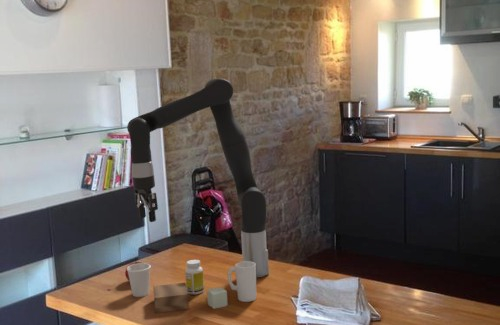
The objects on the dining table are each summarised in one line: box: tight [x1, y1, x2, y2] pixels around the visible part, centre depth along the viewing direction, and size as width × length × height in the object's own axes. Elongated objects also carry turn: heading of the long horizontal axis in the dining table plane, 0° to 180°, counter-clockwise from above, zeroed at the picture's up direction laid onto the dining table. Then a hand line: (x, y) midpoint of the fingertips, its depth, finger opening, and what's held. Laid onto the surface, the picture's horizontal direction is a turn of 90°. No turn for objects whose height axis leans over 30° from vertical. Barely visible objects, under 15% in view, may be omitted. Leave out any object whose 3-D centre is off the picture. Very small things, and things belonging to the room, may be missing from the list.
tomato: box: [124, 261, 143, 282], centre depth 212 cm, size 9×9×8 cm
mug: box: [227, 260, 257, 303], centre depth 191 cm, size 10×7×12 cm, turn 71°
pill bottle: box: [184, 259, 205, 295], centre depth 199 cm, size 6×6×11 cm
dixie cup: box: [126, 262, 152, 298], centre depth 200 cm, size 8×8×10 cm
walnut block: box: [152, 282, 190, 314], centre depth 189 cm, size 11×11×5 cm
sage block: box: [206, 286, 228, 310], centre depth 187 cm, size 5×5×5 cm
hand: (147, 219), depth 201 cm, fingers open, 8 cm apart
